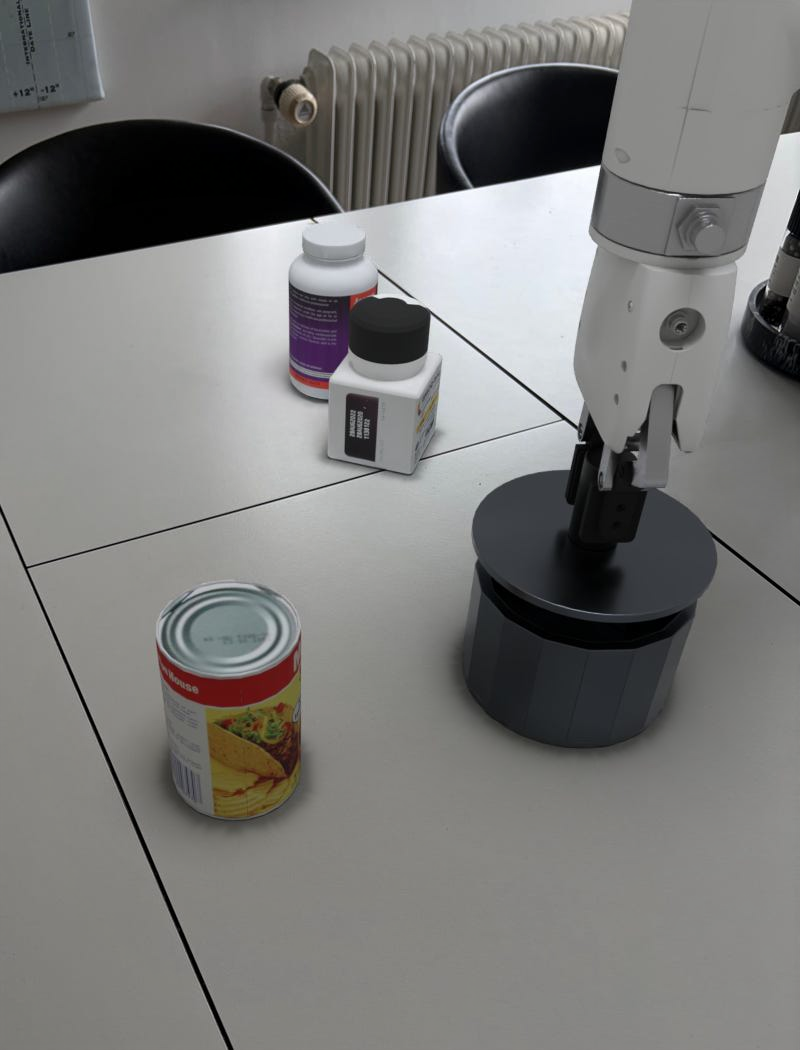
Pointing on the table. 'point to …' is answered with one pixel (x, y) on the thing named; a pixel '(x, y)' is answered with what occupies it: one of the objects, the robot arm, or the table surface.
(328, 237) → the pill bottle
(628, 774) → the table surface
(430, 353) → the container
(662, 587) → the tin lid
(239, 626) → the canned food
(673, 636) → the tin
